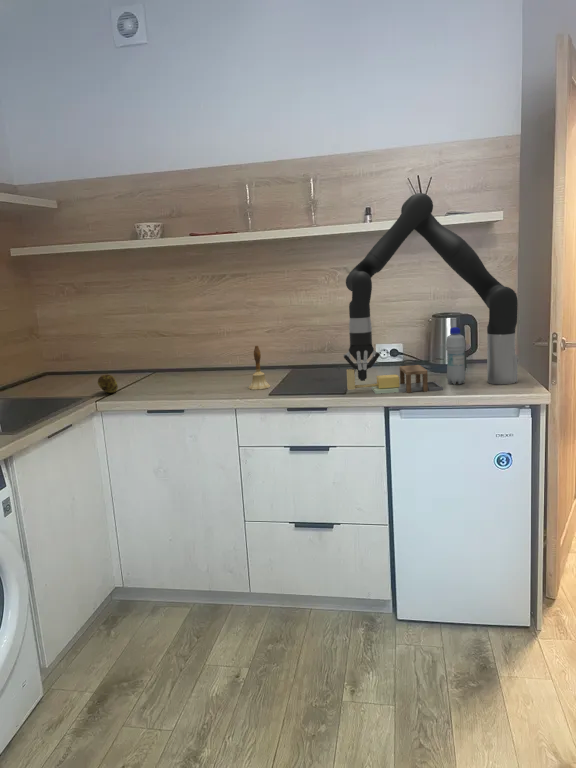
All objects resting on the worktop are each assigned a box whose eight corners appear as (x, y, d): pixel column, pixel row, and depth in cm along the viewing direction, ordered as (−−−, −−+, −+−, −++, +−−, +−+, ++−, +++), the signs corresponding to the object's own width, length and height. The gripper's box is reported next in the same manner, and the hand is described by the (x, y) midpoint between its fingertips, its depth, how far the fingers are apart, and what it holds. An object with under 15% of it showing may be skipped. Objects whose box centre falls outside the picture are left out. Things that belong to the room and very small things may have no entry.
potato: (125, 389, 253) (123, 370, 251) (113, 396, 240) (111, 375, 239) (105, 390, 254) (103, 370, 252) (92, 397, 241) (90, 376, 240)
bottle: (452, 386, 219) (451, 328, 216) (442, 382, 226) (441, 327, 222) (469, 384, 221) (469, 327, 217) (459, 380, 227) (458, 325, 224)
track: (422, 385, 223) (422, 382, 223) (427, 390, 215) (427, 386, 215) (371, 389, 223) (371, 385, 223) (375, 393, 215) (375, 390, 215)
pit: (434, 384, 225) (434, 381, 224) (442, 390, 214) (442, 387, 214) (421, 385, 224) (421, 382, 224) (428, 391, 214) (428, 388, 214)
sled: (396, 384, 221) (396, 365, 220) (399, 387, 216) (398, 367, 215) (347, 387, 221) (346, 368, 220) (348, 390, 216) (347, 370, 215)
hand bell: (245, 387, 241) (242, 346, 238) (266, 384, 244) (263, 343, 241) (252, 391, 234) (249, 348, 231) (273, 388, 237) (270, 345, 234)
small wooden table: (419, 384, 225) (419, 364, 224) (427, 391, 213) (427, 370, 212) (400, 386, 225) (399, 366, 224) (407, 393, 213) (406, 372, 212)
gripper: (377, 328, 219) (379, 377, 222) (339, 330, 218) (342, 379, 222) (381, 330, 211) (383, 381, 215) (342, 333, 211) (344, 383, 214)
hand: (362, 380), depth 218 cm, fingers closed
